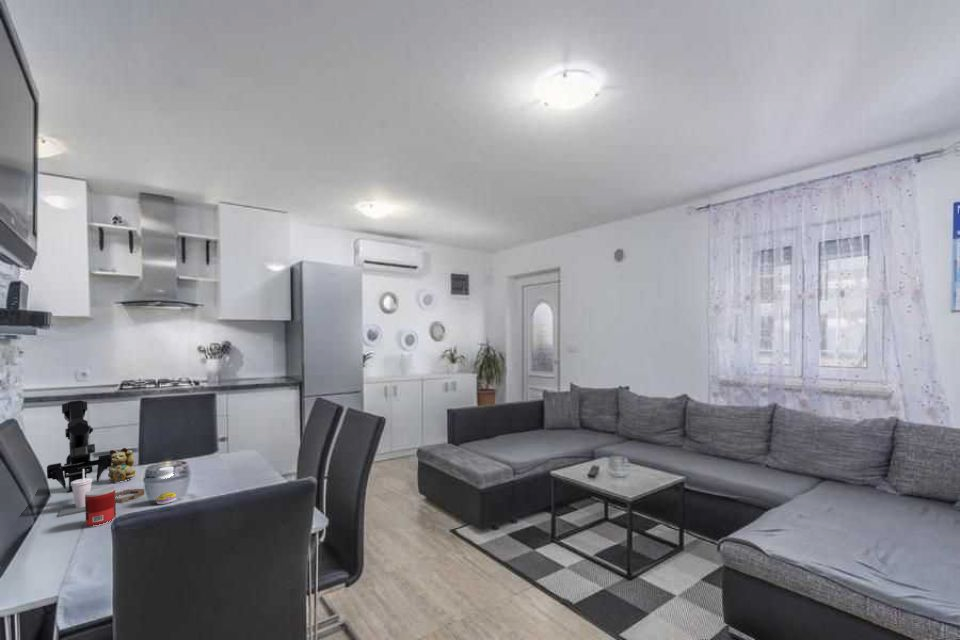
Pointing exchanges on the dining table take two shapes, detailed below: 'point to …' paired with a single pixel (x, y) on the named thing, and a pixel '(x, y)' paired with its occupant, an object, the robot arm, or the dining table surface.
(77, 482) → the smoothie
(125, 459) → the decorative figurine
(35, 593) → the dining table surface
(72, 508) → the coaster
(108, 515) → the canned food
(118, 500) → the collar
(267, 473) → the dining table surface
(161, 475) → the supplement bottle
